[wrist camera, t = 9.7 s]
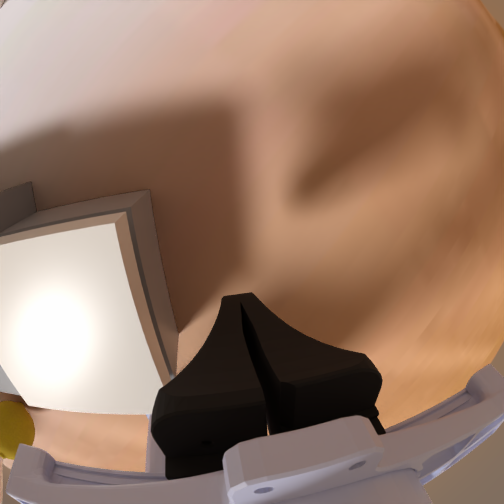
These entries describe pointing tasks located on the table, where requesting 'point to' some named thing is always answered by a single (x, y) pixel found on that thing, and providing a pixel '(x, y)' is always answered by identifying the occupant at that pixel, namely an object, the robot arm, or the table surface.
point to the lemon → (14, 428)
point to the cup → (1, 479)
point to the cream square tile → (78, 319)
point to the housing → (143, 240)
